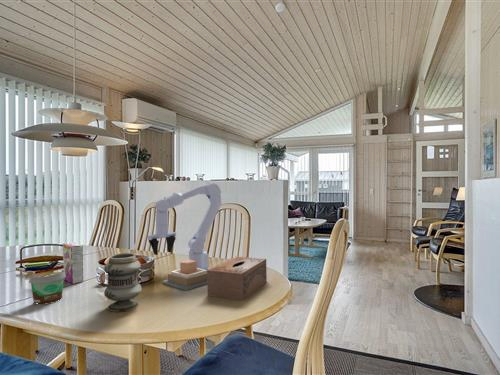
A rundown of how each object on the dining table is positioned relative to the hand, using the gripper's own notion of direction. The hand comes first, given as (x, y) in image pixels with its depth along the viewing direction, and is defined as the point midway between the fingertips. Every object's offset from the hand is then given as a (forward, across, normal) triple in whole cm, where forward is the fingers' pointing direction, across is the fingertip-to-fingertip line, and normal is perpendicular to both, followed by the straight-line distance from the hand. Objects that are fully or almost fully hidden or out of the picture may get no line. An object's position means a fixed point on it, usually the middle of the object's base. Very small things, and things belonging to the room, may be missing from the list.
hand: (162, 253), depth 158 cm
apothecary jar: (+10, +34, +26) cm, 44 cm away
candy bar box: (+10, +32, -22) cm, 40 cm away
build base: (+10, +1, +21) cm, 23 cm away
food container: (+10, +48, 0) cm, 49 cm away
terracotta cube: (+6, +1, +21) cm, 22 cm away
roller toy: (+10, +24, -6) cm, 27 cm away
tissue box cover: (+10, -7, +43) cm, 45 cm away
